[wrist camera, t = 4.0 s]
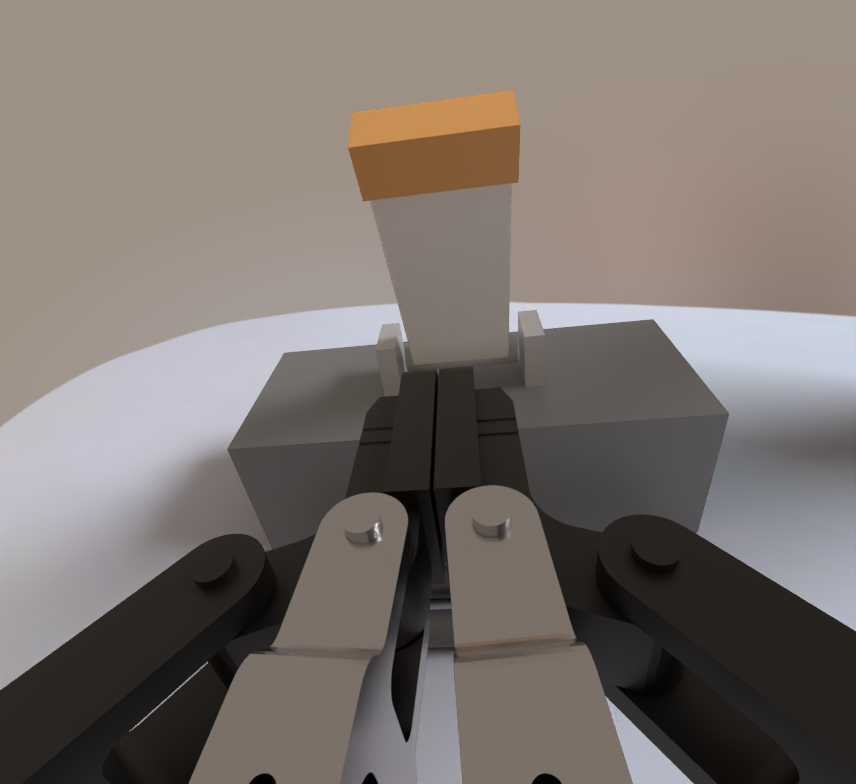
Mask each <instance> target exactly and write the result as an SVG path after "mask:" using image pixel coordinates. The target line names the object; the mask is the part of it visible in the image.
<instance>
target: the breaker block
mask: <svg viewBox="0 0 856 784" xmlns="http://www.w3.org/2000/svg"><path fill="white" fill-rule="evenodd" d="M514 336H515V337H516V342H517V356H518V359H517V362H514V363H502V364H490V365H479V366H473V371H474V383H475V389H483V388H495V387H500V388H501V389H502V390H503V391H504V392H505V393H506V394H507V395H508V396H509V397H510V398H511V399H512V400H513V404H514V409H515V414H516V421H517V425H518V431H519V436H520V442H521V447H522V453H523V458H524V463H525V469H526V474H527V480H528V485H529V490H530V494H531V496H532V498H533V500H534V502H535V503H536V504H537V506H538V507H539V508H540V509H541V510H542V511H543V512H545V513H546V514H547V515H549V516H550V517H552V518H554V519H556V520H558V521H560V522H562V523H565V524H567V525H571V526H575V527H579V528H584V529H589V530H593V531H598V532H603V531H604V529H605V528H606V527H607V526H608V525H609V524H610V523H612V522H613V521H615V520H617V519H619V518H622V517H625V516H629V515H637V514H644V515H654V516H659V517H663V518H666V519H669V520H672V521H674V522H677V523H678V524H680V525H682V526H684V527H686V528H687V529H689V530H691V531H692V532H698V528H699V524H700V520H701V517H702V513H703V509H704V505H705V502H706V498H707V494H708V490H709V487H710V483H711V479H712V475H713V472H714V468H715V464H716V461H717V457H718V453H719V449H720V446H721V442H722V438H723V434H724V431H725V427H726V423H727V419H728V416H729V413H728V412H727V411H726V409H725V408H724V407H723V406H722V404H721V403H720V402H719V401H718V399H717V398H716V397H715V396H714V394H713V393H712V392H711V391H710V389H709V388H708V387H707V386H706V384H705V383H704V382H703V381H702V379H701V378H700V377H699V376H698V374H697V373H696V372H695V371H694V370H693V368H692V367H691V366H690V365H689V363H688V362H687V361H686V360H685V358H684V357H683V356H682V355H681V353H680V352H679V351H678V350H677V348H676V347H675V346H674V345H673V343H672V342H671V341H670V340H669V338H668V337H667V336H666V335H665V333H664V332H663V331H662V330H661V328H660V327H659V326H658V325H657V323H656V322H655V321H654V320H653V319H652V320H641V321H630V322H619V323H608V324H597V325H586V326H575V327H564V328H553V329H543V328H542V325H541V322H540V319H539V316H538V313H537V310H533V311H522V312H518V332H509V337H514ZM405 346H409V343H408V342H403V340H402V334H401V328H400V323H396V324H385V325H382V328H381V331H380V335H379V339H378V342H377V345H366V346H355V347H344V348H333V349H322V350H311V351H300V352H289V353H284V354H283V356H282V358H281V359H280V361H279V363H278V364H277V366H276V368H275V369H274V371H273V373H272V375H271V376H270V378H269V380H268V381H267V383H266V385H265V386H264V388H263V390H262V391H261V393H260V395H259V397H258V398H257V400H256V402H255V403H254V405H253V407H252V408H251V410H250V412H249V413H248V415H247V417H246V418H245V420H244V422H243V424H242V425H241V427H240V429H239V430H238V432H237V434H236V435H235V437H234V439H233V440H232V442H231V444H230V445H229V447H228V449H227V450H228V452H229V454H230V456H231V458H232V461H233V463H234V465H235V467H236V469H237V472H238V474H239V476H240V478H241V480H242V483H243V485H244V487H245V489H246V491H247V494H248V496H249V498H250V500H251V502H252V505H253V507H254V509H255V511H256V513H257V516H258V518H259V520H260V522H261V525H262V527H263V529H264V531H265V533H266V536H267V538H268V540H269V542H270V544H271V547H272V549H276V548H279V547H282V546H285V545H288V544H291V543H295V542H298V541H301V540H303V539H306V538H308V537H310V536H312V535H314V534H316V533H317V531H318V528H319V526H320V523H321V521H322V519H323V518H324V517H325V515H326V514H327V513H328V512H329V511H330V510H331V508H333V507H334V506H335V505H336V504H338V503H339V502H341V501H343V500H345V497H346V493H347V489H348V485H349V481H350V477H351V473H352V469H353V465H354V461H355V457H356V453H357V449H358V447H359V441H360V437H361V433H362V432H363V425H364V421H365V417H366V413H367V411H368V410H369V409H370V408H371V407H372V405H373V404H374V403H375V402H376V401H377V400H378V398H379V397H385V396H397V395H398V394H399V388H400V382H401V376H402V373H403V372H408V371H407V369H406V364H405ZM437 372H438V378H439V369H437ZM439 598H451V593H450V583H449V581H448V575H447V568H446V565H445V584H431V597H430V599H439ZM429 620H430V633H429V642H428V648H436V647H455V643H454V630H453V618H452V609H440V610H430V613H429Z"/></svg>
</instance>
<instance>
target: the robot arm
mask: <svg viewBox="0 0 856 784" xmlns="http://www.w3.org/2000/svg"><path fill="white" fill-rule="evenodd" d="M445 562H446V568H447V575H448V581H449V583H450V593H451V605H452V618H453V630H454V643H455V653H454V677H455V691H456V704H457V717H458V730H459V743H460V757H461V770H462V783H463V784H633V783H632V779H631V776H630V773H629V770H628V767H627V764H626V760H625V757H624V754H623V751H622V748H621V745H620V741H619V738H618V735H617V732H616V729H615V726H614V723H613V719H612V716H611V713H610V710H609V707H608V704H607V700H606V697H607V698H608V699H609V700H610V701H611V702H612V703H613V704H614V705H615V706H616V707H617V708H618V709H619V710H620V711H621V712H622V713H623V714H624V715H625V716H626V717H627V718H628V719H629V720H630V721H631V722H632V723H633V724H634V725H635V726H636V727H637V728H638V729H639V730H640V731H641V732H642V733H643V734H644V735H645V736H646V737H647V738H648V739H649V740H650V741H651V742H652V743H653V744H654V745H655V746H656V747H657V748H658V749H659V750H660V751H661V752H662V753H663V754H664V755H665V756H667V757H668V758H669V759H670V760H671V761H672V762H673V763H674V764H675V765H676V766H677V767H678V768H679V769H680V770H681V771H682V772H683V773H684V774H685V775H686V776H687V777H688V778H689V779H690V780H691V781H692V782H693V783H694V784H856V631H854V630H853V629H851V628H849V627H848V626H846V625H844V624H843V623H841V622H839V621H838V620H836V619H835V618H833V617H831V616H830V615H828V614H826V613H825V612H823V611H821V610H820V609H818V608H817V607H815V606H813V605H812V604H810V603H808V602H807V601H805V600H803V599H802V598H800V597H799V596H797V595H795V594H794V593H792V592H790V591H789V590H787V589H785V588H784V587H782V586H781V585H779V584H777V583H776V582H774V581H772V580H771V579H769V578H767V577H766V576H764V575H763V574H761V573H759V572H758V571H756V570H754V569H753V568H751V567H750V566H748V565H746V564H745V563H743V562H741V561H740V560H738V559H736V558H735V557H733V556H732V555H730V554H728V553H727V552H725V551H723V550H722V549H720V548H718V547H717V546H715V545H714V544H712V543H710V542H709V541H707V540H705V539H704V538H702V537H700V536H699V535H697V534H696V533H694V532H692V531H691V530H689V529H687V528H686V527H684V526H682V525H680V524H678V523H677V522H674V521H672V520H669V519H666V518H663V517H659V516H654V515H644V514H637V515H629V516H625V517H622V518H619V519H617V520H615V521H613V522H612V523H610V524H609V525H608V526H607V527H606V528H605V529H604V531H603V532H598V531H593V530H589V529H584V528H579V527H575V526H571V525H567V524H565V523H562V522H560V521H558V520H556V519H554V518H552V517H550V516H549V515H547V514H546V513H545V512H543V511H542V510H541V509H540V508H539V507H538V506H537V504H536V503H535V502H534V500H533V498H532V496H531V494H530V490H529V485H528V480H527V474H526V469H525V463H524V458H523V453H522V447H521V442H520V436H519V431H518V425H517V421H516V414H515V409H514V404H513V400H512V399H511V398H510V397H509V396H508V395H507V394H506V393H505V392H504V391H503V390H502V389H501V388H500V387H495V388H483V389H475V383H474V371H473V366H465V367H453V368H442V369H439V378H438V372H437V369H431V370H419V371H408V372H403V373H402V376H401V382H400V388H399V394H398V395H397V396H385V397H379V398H378V400H377V401H376V402H375V403H374V404H373V405H372V407H371V408H370V409H369V410H368V411H367V413H366V417H365V421H364V425H363V432H362V433H361V437H360V441H359V447H358V449H357V453H356V457H355V461H354V465H353V469H352V473H351V477H350V481H349V485H348V489H347V493H346V497H345V500H343V501H341V502H339V503H338V504H336V505H335V506H334V507H333V508H331V510H330V511H329V512H328V513H327V514H326V515H325V517H324V518H323V519H322V521H321V523H320V526H319V528H318V531H317V533H316V534H314V535H312V536H310V537H308V538H306V539H303V540H301V541H298V542H295V543H291V544H288V545H285V546H282V547H279V548H276V549H273V550H270V551H267V552H265V551H264V549H263V547H262V545H261V544H260V543H259V541H258V540H256V539H255V538H253V537H251V536H248V535H244V534H229V535H224V536H220V537H217V538H214V539H212V540H209V541H207V542H205V543H203V544H201V545H200V546H198V547H197V548H195V549H194V550H192V551H191V552H190V553H188V554H187V555H186V556H184V557H183V558H181V559H180V560H179V561H177V562H176V563H175V564H173V565H172V566H170V567H169V568H168V569H166V570H165V571H164V572H162V573H161V574H159V575H158V576H157V577H155V578H154V579H153V580H151V581H150V582H148V583H147V584H146V585H144V586H143V587H142V588H140V589H139V590H138V591H136V592H135V593H133V594H132V595H131V596H129V597H128V598H127V599H125V600H124V601H122V602H121V603H120V604H118V605H117V606H116V607H114V608H113V609H111V610H110V611H109V612H107V613H106V614H105V615H103V616H102V617H100V618H99V619H98V620H96V621H95V622H94V623H92V624H91V625H89V626H88V627H87V628H85V629H84V630H83V631H81V632H80V633H79V634H77V635H76V636H74V637H73V638H72V639H70V640H69V641H68V642H66V643H65V644H63V645H62V646H61V647H59V648H58V649H57V650H55V651H54V652H52V653H51V654H50V655H48V656H47V657H46V658H44V659H43V660H41V661H40V662H39V663H37V664H36V665H35V666H33V667H32V668H30V669H29V670H28V671H26V672H25V673H24V674H22V675H21V676H19V677H18V678H17V679H15V680H14V681H13V682H11V683H10V684H9V685H7V686H6V687H4V688H3V689H2V690H0V784H417V775H416V746H417V736H418V728H419V719H420V710H421V702H422V693H423V685H424V676H425V668H426V659H427V651H428V642H429V633H430V620H429V613H430V597H431V584H445ZM207 661H208V664H207V665H205V666H204V667H203V668H202V669H201V670H200V671H199V672H198V673H197V674H195V675H194V676H193V677H192V678H191V679H190V680H189V681H188V682H186V683H185V684H184V685H183V686H182V687H181V688H180V689H179V690H178V691H176V692H175V693H174V694H173V695H172V696H171V697H170V698H169V699H167V700H166V701H165V702H164V703H163V704H162V705H161V706H160V707H159V708H157V709H156V710H155V711H154V712H153V713H152V714H151V715H150V716H148V717H147V718H146V719H145V720H144V721H143V722H142V723H141V724H139V725H138V726H137V727H136V728H134V729H133V730H131V729H132V728H133V727H134V726H135V725H136V724H138V723H139V722H140V721H141V720H142V719H143V718H144V717H145V716H147V715H148V714H149V713H150V712H151V711H152V710H153V709H154V708H156V707H157V706H158V705H159V704H160V703H161V702H162V701H163V700H164V699H166V698H167V697H168V696H169V695H170V694H171V693H172V692H173V691H175V690H176V689H177V688H178V687H179V686H180V685H181V684H182V683H184V682H185V681H186V680H187V679H188V678H189V677H190V676H191V675H193V674H194V673H195V672H196V671H197V670H198V669H199V668H200V667H202V666H203V665H204V664H205V663H206V662H207ZM605 696H606V697H605ZM130 730H131V731H130ZM129 731H130V732H129ZM127 732H128V733H127Z"/></svg>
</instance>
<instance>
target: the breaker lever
mask: <svg viewBox="0 0 856 784" xmlns="http://www.w3.org/2000/svg"><path fill="white" fill-rule="evenodd" d="M519 145H520V121H519V117H518V111H517V106H516V101H515V96H514V91H513V90H511V91H504V92H497V93H490V94H483V95H476V96H468V97H461V98H454V99H447V100H440V101H433V102H427V103H419V104H413V105H405V106H398V107H391V108H383V109H376V110H369V111H362V112H355V113H352V119H351V127H350V136H349V144H348V149H349V153H350V156H351V160H352V163H353V167H354V171H355V174H356V178H357V181H358V184H359V188H360V192H361V195H362V199H363V201H370V202H371V206H372V209H373V213H374V217H375V221H376V224H377V228H378V232H379V236H380V239H381V243H382V247H383V251H384V254H385V258H386V262H387V265H388V269H389V273H390V276H391V280H392V284H393V288H394V291H395V295H396V299H397V303H398V306H399V310H400V314H401V317H402V321H403V325H404V329H405V332H406V336H407V340H408V343H409V346H405V364H406V369H407V371H419V370H431V369H442V368H453V367H465V366H479V365H490V364H502V363H514V362H517V359H518V356H517V342H516V337H515V336H514V337H509V297H510V246H511V196H512V195H511V194H512V183H517V182H518V179H519V147H520V146H519Z"/></svg>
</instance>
